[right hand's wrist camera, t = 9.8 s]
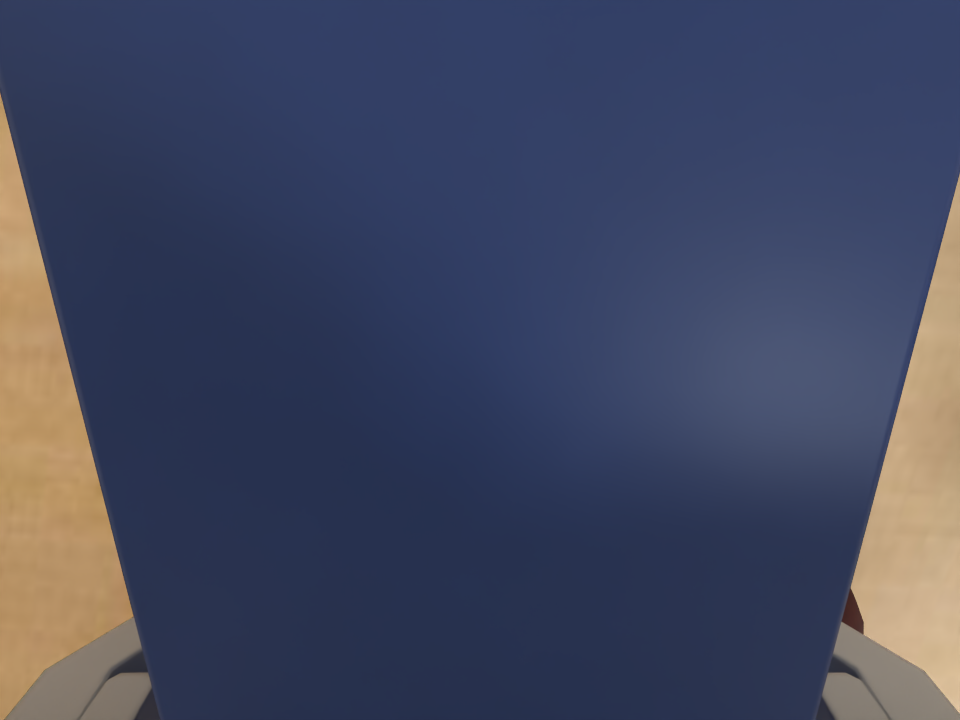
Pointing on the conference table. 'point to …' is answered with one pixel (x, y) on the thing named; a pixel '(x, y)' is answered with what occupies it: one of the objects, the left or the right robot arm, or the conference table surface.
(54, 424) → the conference table surface
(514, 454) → the bar
